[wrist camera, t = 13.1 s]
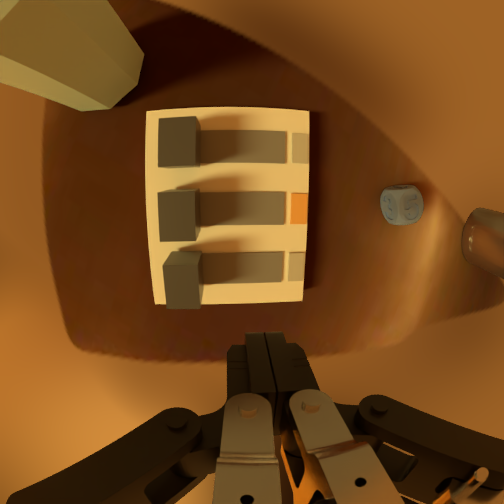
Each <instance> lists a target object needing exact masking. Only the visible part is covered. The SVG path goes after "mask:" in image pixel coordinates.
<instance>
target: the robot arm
mask: <svg viewBox="0 0 504 504" xmlns="http://www.w3.org/2000/svg"><path fill="white" fill-rule="evenodd" d="M462 250H463V254H464V257H465V259H466V260H467V261H468V262H469V263H471V264H473V265H476V266H478V267H480V268H482V269H484V270H486V271H488V272H490V273H492V274H494V275H496V276H498V277H500V278H502V279H504V213H501V212H497V211H493V210H488V209H485V208H477V209H475V210H474V211H473V212H472V213H471V214H470V216H469V217H468V219H467V221H466V223H465V227H464V230H463V235H462ZM274 435H281V439H282V446H281V454H282V457H283V461H284V464H285V468H286V471H287V474H288V477H289V481H290V484H291V487H292V490H293V495H294V504H418V503H416V502H414V501H412V500H409V499H407V498H405V497H403V496H400V495H399V493H401V494H403V495H406V496H408V497H410V498H413V499H415V500H418V501H420V502H423V503H426V504H502V502H503V499H504V440H501V439H498V438H494V437H492V436H488V435H485V434H482V433H479V432H476V431H473V430H470V429H467V428H464V427H462V426H459V425H456V424H453V423H451V422H448V421H445V420H443V419H440V418H437V417H435V416H432V415H430V414H427V413H424V412H422V411H420V410H417V409H415V408H413V407H410V406H408V405H405V404H403V403H401V402H398V401H396V400H394V399H391V398H389V397H387V396H383V395H370V396H367V397H365V398H363V399H362V401H361V402H360V403H359V405H343V404H338V403H335V402H333V401H332V399H331V398H330V397H329V396H328V395H327V394H326V393H324V392H322V391H320V389H319V386H318V384H317V382H316V379H315V377H314V374H313V372H312V369H311V367H310V364H309V362H308V360H307V357H306V355H305V352H304V350H303V349H302V348H301V347H300V346H299V345H297V344H296V343H286V340H285V337H284V334H283V332H264V333H263V332H255V333H245V345H232V346H231V347H230V349H229V350H228V352H227V401H226V403H225V404H224V406H223V407H222V408H220V409H219V410H217V411H216V412H213V413H210V414H206V415H201V416H198V415H197V414H196V413H194V412H193V411H191V410H189V409H185V408H179V407H178V408H170V409H166V410H163V411H162V412H160V413H159V414H157V415H156V416H154V417H153V418H151V419H149V420H148V421H147V422H145V423H143V424H142V425H140V426H139V427H137V428H135V429H134V430H133V431H131V432H129V433H128V434H126V435H124V436H123V437H121V438H119V439H118V440H116V441H115V442H113V443H111V444H109V445H108V446H106V447H104V448H102V449H101V450H99V451H97V452H95V453H94V454H92V455H90V456H88V457H86V458H85V459H83V460H81V461H79V462H78V463H75V464H74V465H72V466H70V467H68V468H66V469H64V470H62V471H60V472H58V473H56V474H54V475H52V476H50V477H48V478H46V479H44V480H42V481H40V482H37V483H35V484H33V485H31V486H29V487H26V488H24V489H22V490H19V491H17V492H15V493H13V494H12V495H10V497H9V498H8V500H7V502H6V504H175V503H176V502H177V501H178V500H180V499H181V498H182V497H183V496H185V495H186V494H187V493H188V492H190V491H191V490H192V489H193V488H194V487H195V486H197V485H198V484H199V483H200V482H201V481H202V480H203V479H205V477H206V476H207V475H208V474H211V473H215V482H214V491H213V501H212V504H282V502H281V489H280V476H279V464H278V459H277V458H275V450H274ZM383 442H386V443H389V444H391V445H393V446H395V447H397V448H400V449H402V450H404V451H407V452H409V453H411V454H413V455H415V456H410V455H407V454H404V453H402V452H400V451H398V450H396V449H393V448H391V447H389V446H387V445H385V444H383ZM398 492H399V493H398Z"/></svg>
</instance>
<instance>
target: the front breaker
mask: <svg viewBox="0 0 504 504" xmlns="http://www.w3.org/2000/svg"><path fill="white" fill-rule="evenodd" d="M200 142H201V125H200V123H199V121H198V119H197V117H196V116H185V117H170V118H159V122H158V167H160V168H168V169H170V168H193V167H200Z"/></svg>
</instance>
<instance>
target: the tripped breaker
mask: <svg viewBox="0 0 504 504" xmlns="http://www.w3.org/2000/svg"><path fill="white" fill-rule="evenodd" d="M157 195H158V221H159V238H160V242H181V241H196V240H197V238H198V235H199V233H200V231H201V228H200V188H198V189H170V190H165V191H161V192H157Z"/></svg>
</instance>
